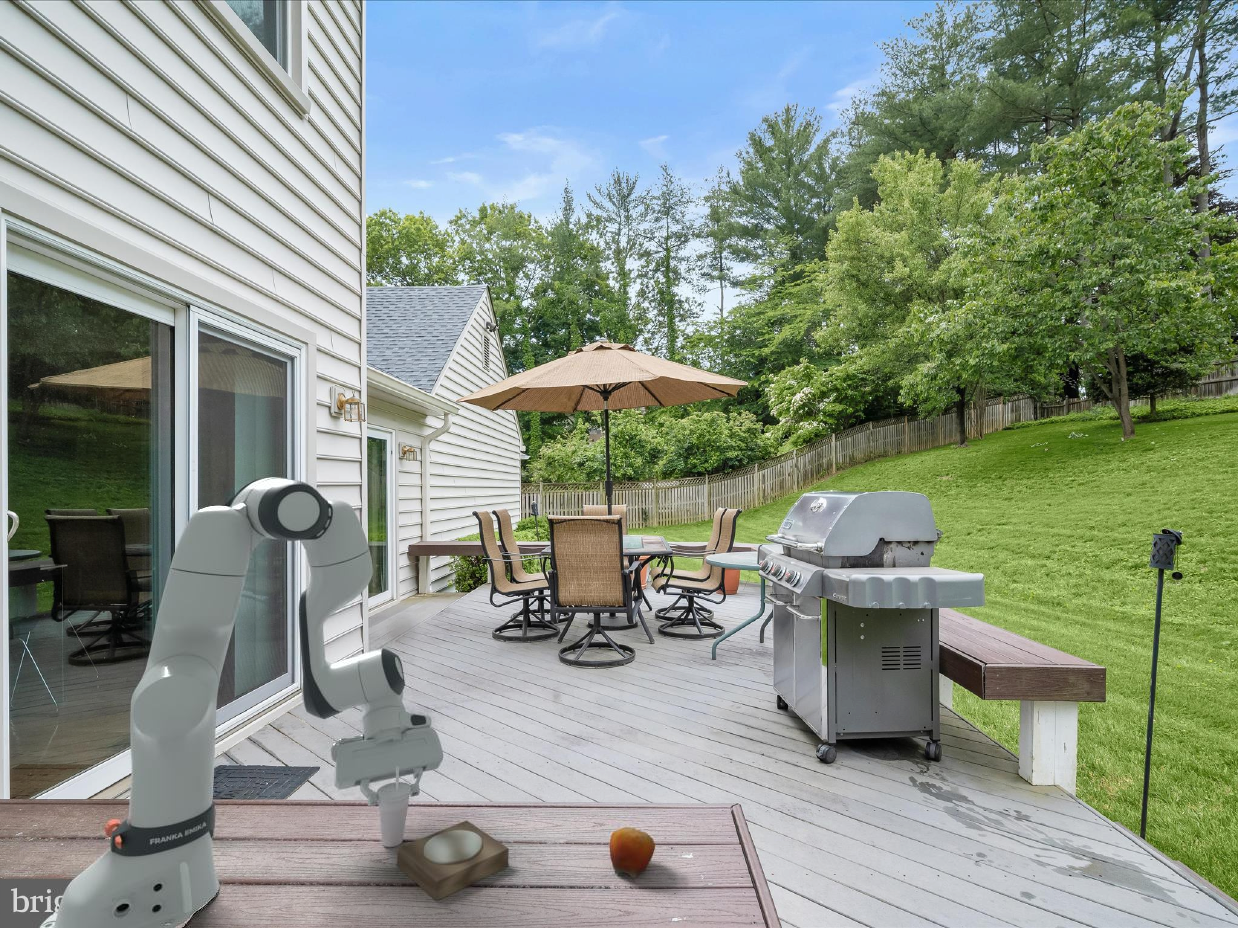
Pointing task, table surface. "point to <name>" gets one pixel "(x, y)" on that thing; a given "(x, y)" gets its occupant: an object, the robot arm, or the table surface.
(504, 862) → the stand
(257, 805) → the table surface
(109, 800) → the table surface
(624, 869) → the fruit
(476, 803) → the table surface
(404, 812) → the smoothie
